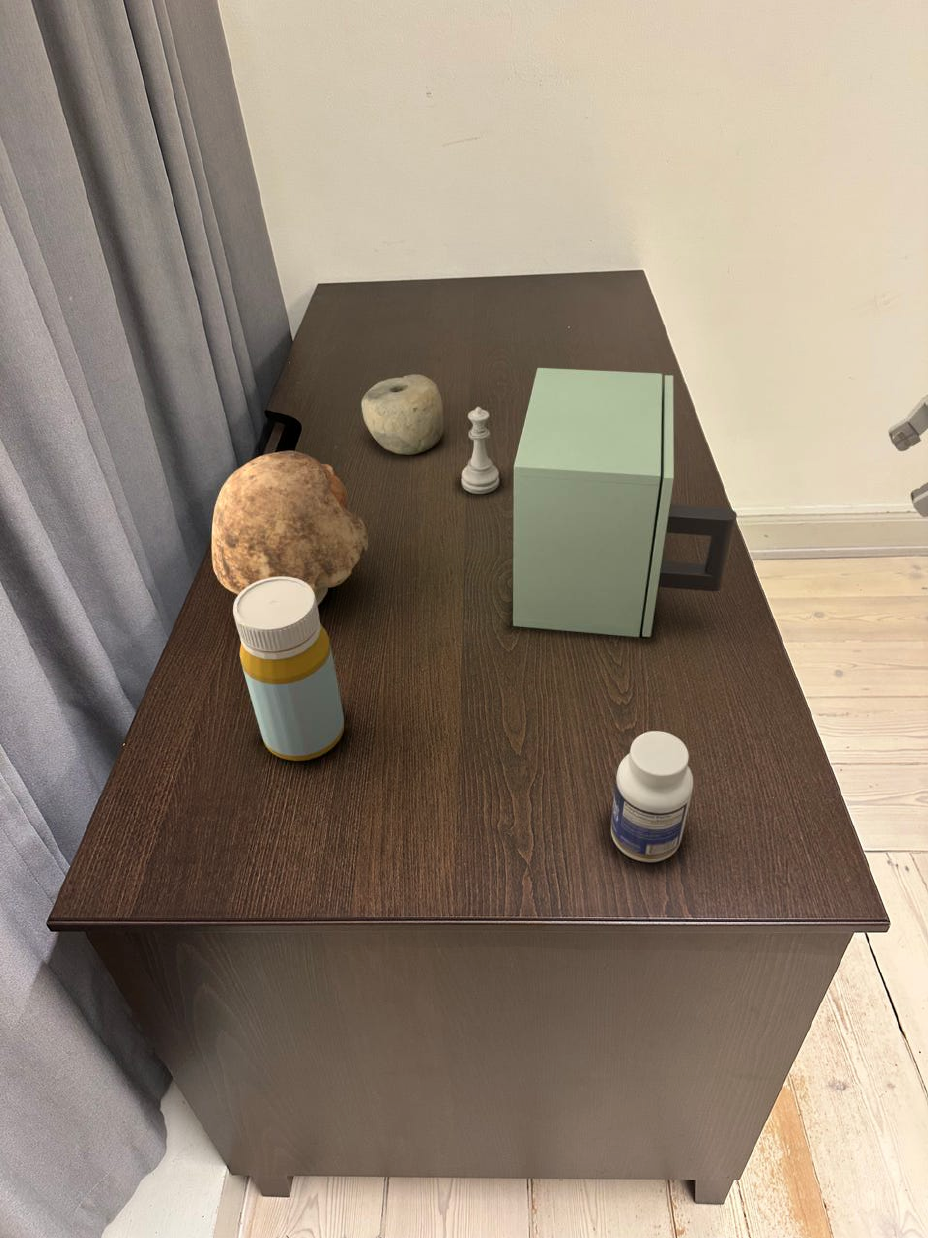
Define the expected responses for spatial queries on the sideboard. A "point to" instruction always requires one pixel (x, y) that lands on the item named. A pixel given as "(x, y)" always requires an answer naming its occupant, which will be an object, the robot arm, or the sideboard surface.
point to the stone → (404, 414)
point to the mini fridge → (586, 500)
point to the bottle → (289, 668)
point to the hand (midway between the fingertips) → (903, 472)
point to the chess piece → (479, 458)
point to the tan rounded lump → (285, 525)
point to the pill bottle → (652, 797)
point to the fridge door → (683, 529)
